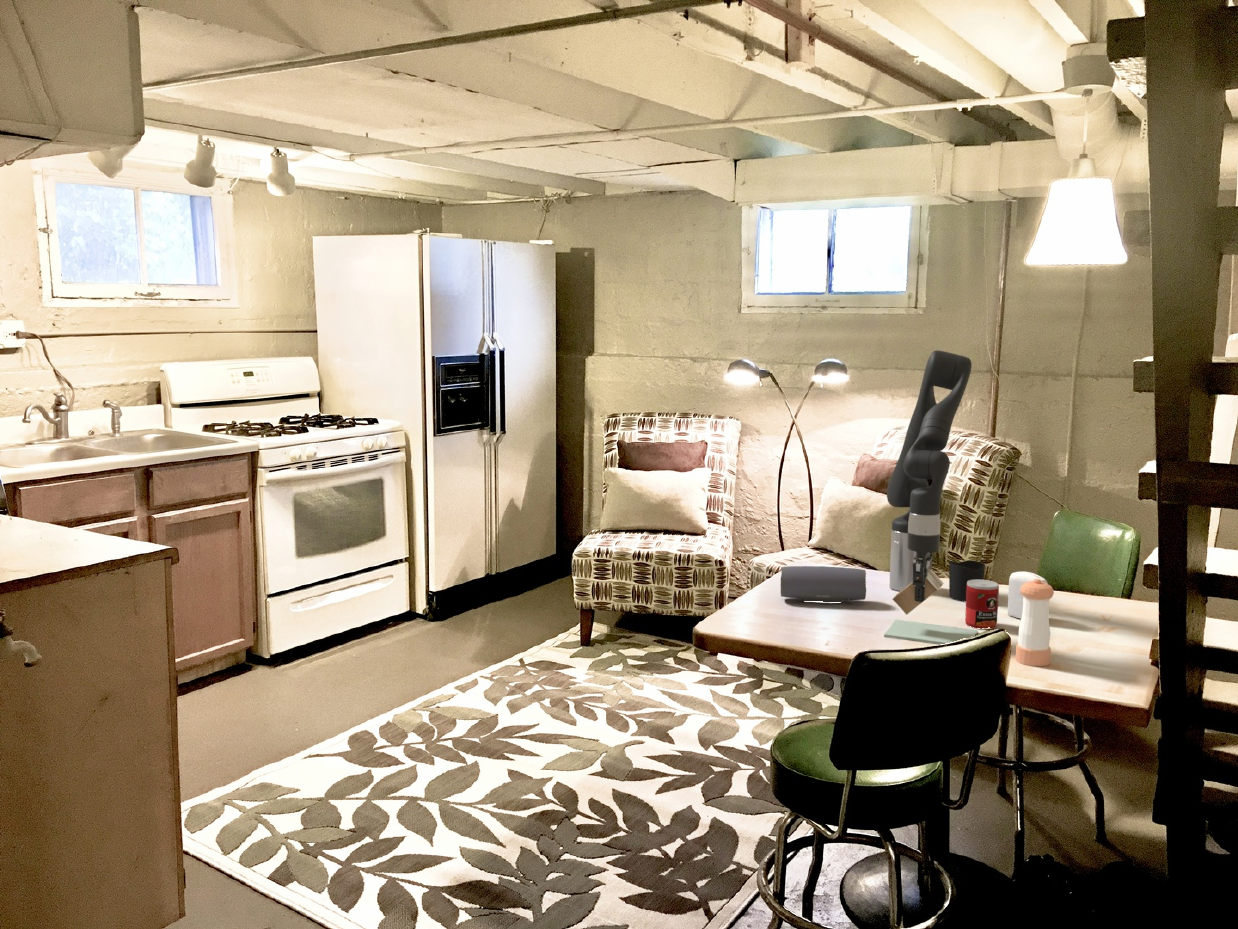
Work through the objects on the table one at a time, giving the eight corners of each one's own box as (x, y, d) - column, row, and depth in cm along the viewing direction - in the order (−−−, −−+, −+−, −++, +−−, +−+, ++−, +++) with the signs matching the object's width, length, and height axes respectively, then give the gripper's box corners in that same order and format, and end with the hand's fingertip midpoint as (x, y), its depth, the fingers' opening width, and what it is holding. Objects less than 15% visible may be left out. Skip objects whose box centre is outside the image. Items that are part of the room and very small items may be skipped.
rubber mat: (895, 621, 255) (895, 619, 255) (977, 632, 246) (977, 630, 246) (884, 636, 243) (884, 634, 243) (969, 648, 234) (969, 646, 234)
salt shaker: (1041, 655, 229) (1046, 575, 226) (1055, 666, 221) (1061, 583, 219) (1010, 656, 228) (1014, 575, 226) (1023, 666, 221) (1028, 583, 219)
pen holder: (979, 604, 271) (981, 569, 270) (944, 599, 276) (946, 564, 275) (986, 596, 279) (987, 562, 278) (951, 592, 284) (953, 558, 283)
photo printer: (1004, 615, 261) (1007, 569, 259) (1015, 613, 263) (1018, 567, 261) (1037, 625, 252) (1040, 578, 250) (1048, 623, 254) (1051, 576, 253)
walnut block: (896, 594, 249) (929, 567, 245) (910, 609, 248) (943, 583, 244) (892, 599, 245) (926, 572, 241) (906, 614, 244) (940, 587, 239)
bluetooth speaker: (862, 599, 277) (863, 564, 275) (865, 608, 268) (867, 572, 266) (780, 595, 280) (781, 561, 278) (780, 604, 271) (781, 569, 269)
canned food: (977, 630, 248) (979, 588, 246) (958, 621, 255) (960, 580, 254) (1003, 628, 250) (1005, 586, 248) (984, 619, 257) (986, 578, 256)
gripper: (935, 537, 234) (932, 607, 236) (944, 527, 247) (941, 593, 249) (902, 535, 237) (900, 603, 240) (913, 524, 250) (911, 590, 252)
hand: (921, 598), depth 244 cm, fingers closed on walnut block, 5 cm apart
